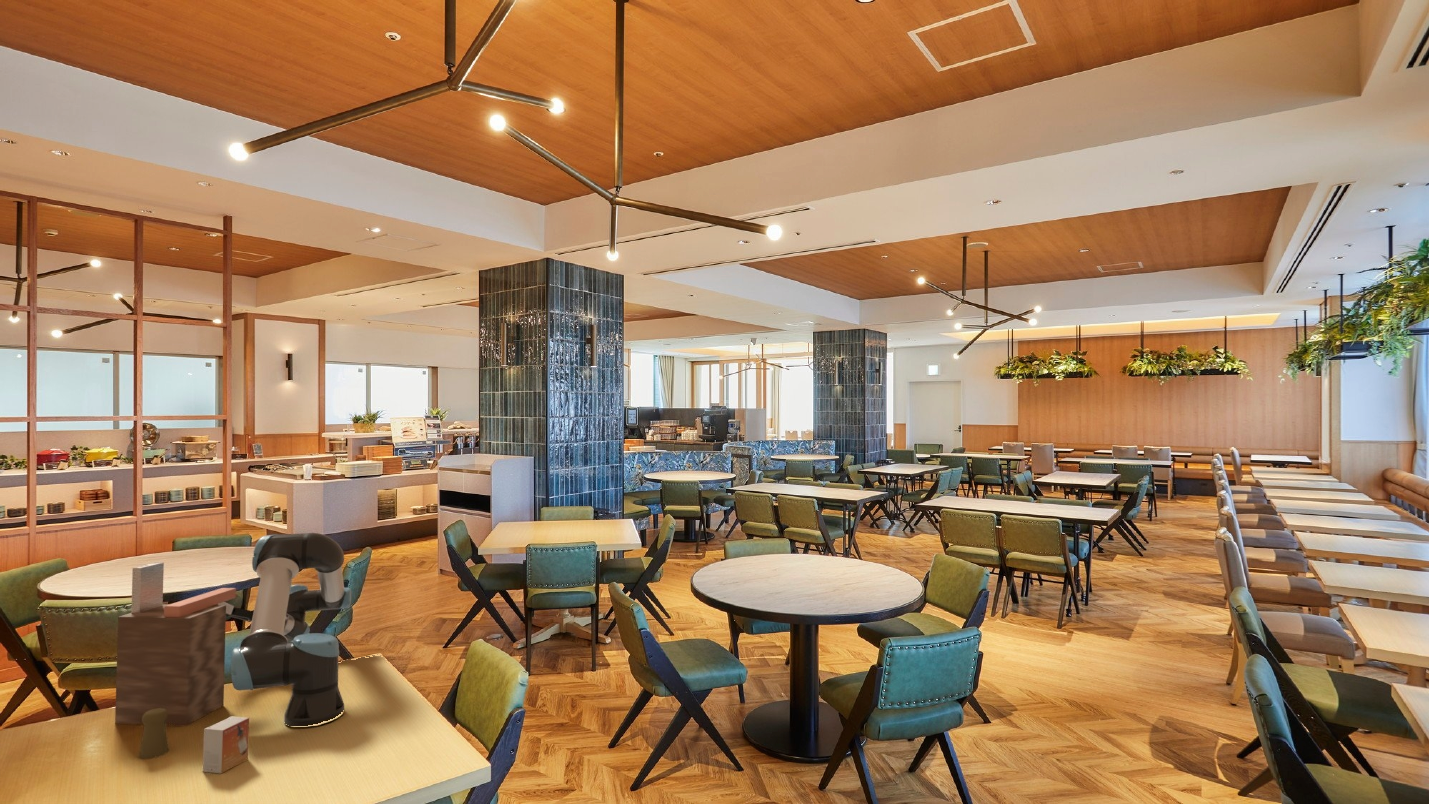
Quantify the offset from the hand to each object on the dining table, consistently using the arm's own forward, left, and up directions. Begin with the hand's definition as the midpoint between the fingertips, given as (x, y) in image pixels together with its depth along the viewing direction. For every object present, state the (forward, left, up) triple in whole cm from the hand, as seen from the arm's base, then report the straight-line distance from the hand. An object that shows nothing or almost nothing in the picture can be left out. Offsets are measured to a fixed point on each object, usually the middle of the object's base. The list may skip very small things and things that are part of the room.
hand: (239, 605), depth 227 cm
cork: (-36, +27, -27) cm, 52 cm away
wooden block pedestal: (-10, +19, -26) cm, 34 cm away
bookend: (-2, +24, +4) cm, 24 cm away
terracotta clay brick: (-10, +12, +4) cm, 16 cm away
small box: (-57, +16, -27) cm, 65 cm away
